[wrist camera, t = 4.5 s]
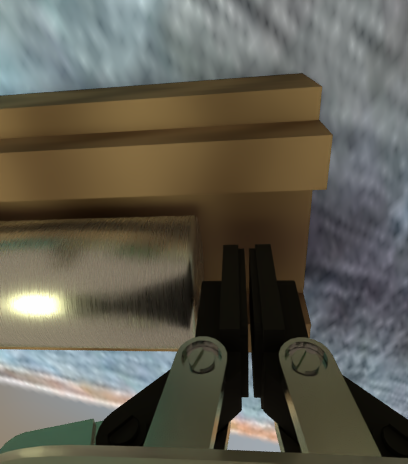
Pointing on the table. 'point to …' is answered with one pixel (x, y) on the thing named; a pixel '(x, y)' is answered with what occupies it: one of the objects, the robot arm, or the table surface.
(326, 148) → the wooden channel block
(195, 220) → the axle
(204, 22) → the table surface
